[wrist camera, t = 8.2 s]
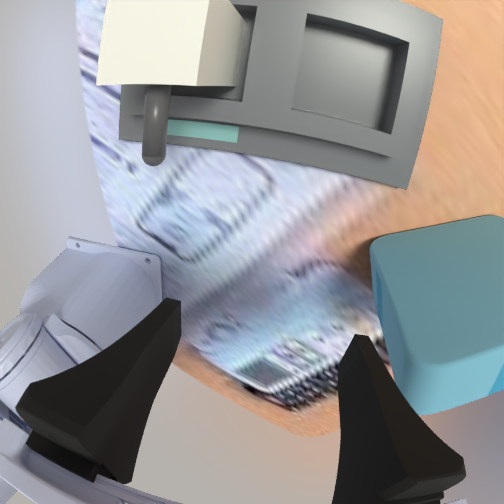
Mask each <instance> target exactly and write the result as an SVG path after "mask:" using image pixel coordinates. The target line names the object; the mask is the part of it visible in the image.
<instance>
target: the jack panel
mask: <svg viewBox="0 0 504 504" xmlns="http://www.w3.org/2000/svg"><path fill="white" fill-rule="evenodd" d="M229 1H230V2H231V3H232V5H233V6H234V7H235V9H236V10H237V11H238V13H239V14H240V15H241V17H242V18H243V19H244V21H245V22H246V24H247V25H246V31H245V37H244V43H243V49H242V56H241V62H240V68H239V75H238V82H237V86H189V85H171V94H170V104H169V115H168V127H167V141H166V144H176V145H185V146H194V147H202V148H210V149H217V150H224V151H231V152H238V153H244V154H250V155H256V156H262V157H268V158H273V159H279V160H284V161H289V162H295V163H300V164H304V165H309V166H314V167H319V168H323V169H328V170H332V171H336V172H341V173H345V174H349V175H353V176H357V177H361V178H365V179H369V180H373V181H377V182H380V183H384V184H388V185H391V186H395V187H398V188H402V189H405V190H407V187H408V184H409V180H410V177H411V174H412V170H413V167H414V164H415V160H416V157H417V153H418V149H419V146H420V142H421V138H422V134H423V130H424V126H425V122H426V118H427V113H428V109H429V104H430V100H431V95H432V90H433V85H434V79H435V74H436V68H437V62H438V56H439V49H440V41H441V33H442V24H443V19H442V18H439V17H437V16H435V15H433V14H431V13H429V12H426V11H424V10H422V9H419V8H417V7H415V6H412V5H410V4H407V3H405V2H402V1H399V0H229ZM145 94H146V84H122V87H121V101H120V120H119V140H130V141H143V122H144V107H145Z"/></svg>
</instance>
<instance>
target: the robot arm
mask: <svg viewBox="0 0 504 504" xmlns="http://www.w3.org/2000/svg"><path fill="white" fill-rule="evenodd" d="M78 243H79V244H78ZM66 247H67V248H66V250H64V251H63V252H62V253H61V254H60V255H59V256H58V257H57V258H56V259H55V260H54V261H53V262H52V263H50V264H49V265H48V266H47V267H46V268H45V269H44V270H43V271H42V272H41V273H40V275H38V277H36V278H35V279H34V281H32V283H31V284H30V285H29V287H28V288H27V290H26V292H25V294H24V297H23V300H22V303H21V308H20V315H18V316H17V317H16V318H14V319H13V320H12V321H11V322H9V323H8V324H7V325H6V326H5V327H4V328H3V329H2V330H1V331H0V504H5V503H6V502H7V501H8V500H9V499H10V498H11V497H12V496H13V495H14V494H15V493H16V492H17V490H18V491H19V492H21V493H22V494H23V495H25V496H26V497H27V498H29V499H30V500H32V501H33V502H35V503H36V504H125V503H128V504H181V503H178V502H174V501H171V500H167V499H164V498H161V497H157V496H154V495H151V494H148V493H145V492H142V491H139V490H137V489H134V488H131V487H128V486H125V485H123V484H127V483H129V482H131V481H132V477H133V472H134V467H135V463H136V459H137V455H138V451H139V447H140V443H141V439H142V436H143V432H144V429H145V426H146V422H147V419H148V416H149V413H150V410H151V407H152V404H153V402H154V399H155V397H156V394H157V392H158V390H159V388H160V386H161V384H162V381H163V379H164V377H165V375H166V373H167V371H168V369H169V366H170V364H171V362H172V360H173V358H174V356H175V353H176V350H177V347H178V344H179V341H180V337H181V301H178V300H174V299H170V298H165V299H164V300H163V301H162V281H161V260H160V258H159V257H158V256H157V255H154V254H149V253H144V252H139V251H134V250H130V249H125V248H120V247H115V246H111V245H106V244H101V243H96V242H92V241H88V240H83V239H78V238H74V237H68V238H67V239H66ZM147 258H148V259H150V261H148V260H147ZM338 397H339V412H340V428H341V441H340V454H339V464H338V473H337V479H336V485H335V491H334V496H333V500H332V504H440V500H441V499H443V498H444V493H443V491H444V490H447V489H449V488H450V487H452V486H454V485H456V484H458V483H459V482H461V481H462V480H463V479H464V478H465V477H466V471H465V465H464V460H463V457H462V456H460V455H459V454H458V453H456V452H455V451H454V450H453V449H451V448H450V447H449V446H448V445H447V444H445V443H444V442H443V441H442V440H441V439H440V438H439V437H438V436H437V435H436V434H435V433H434V432H433V431H432V430H431V429H430V428H429V427H428V426H427V425H426V424H425V423H424V421H423V420H422V419H421V418H420V417H419V416H418V414H417V413H416V412H415V411H414V409H413V408H412V407H411V405H410V404H409V403H408V401H407V400H406V399H405V397H404V396H403V394H402V393H401V391H400V390H399V388H398V387H397V385H396V383H395V382H394V380H393V379H392V377H391V375H390V373H389V372H388V370H387V368H386V367H385V365H384V363H383V361H382V359H381V358H380V356H379V354H378V352H377V350H376V349H375V347H374V345H373V343H372V341H371V340H370V338H369V336H365V335H358V334H355V335H354V337H353V339H352V341H351V343H350V345H349V347H348V349H347V350H346V352H345V354H344V356H343V358H342V360H341V361H340V363H339V369H338ZM113 480H114V481H113ZM118 482H119V483H118ZM121 483H122V484H121ZM124 502H125V503H124ZM445 504H467V500H466V498H463V499H459V500H455V501H452V502H448V503H445Z"/></svg>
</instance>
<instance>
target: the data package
mask: <svg viewBox="0 0 504 504" xmlns="http://www.w3.org/2000/svg"><path fill="white" fill-rule="evenodd" d="M369 251H370V262H371V275H372V290H373V299H374V303H375V306H376V309H377V313H378V316H379V320H380V324H381V327H382V331H383V335H384V339H385V342H386V346H387V350H388V354H389V358H390V362H391V367H392V371H393V375H394V380H395V383H396V385H397V387H398V388H399V390H400V391H401V393H402V394H403V396H404V397H405V399H406V400H407V401H408V403H409V404H410V405H411V407H412V408H413V409H414V411H415V412H416V413H417V414H418V415H429V414H434V413H437V412H441V411H444V410H447V409H451V408H454V407H457V406H460V405H463V404H466V403H469V402H472V401H475V400H477V399H480V398H482V397H485V396H488V395H490V394H493V393H495V392H498V391H500V390H503V389H504V218H502V217H499V216H494V215H486V216H480V217H475V218H470V219H465V220H460V221H455V222H450V223H445V224H440V225H435V226H430V227H425V228H419V229H414V230H409V231H404V232H399V233H394V234H388V235H384V236H381V237H379V238H377V239H376V240H374V241H373V242H372V244H371V246H370V249H369Z"/></svg>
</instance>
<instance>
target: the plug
mask: <svg viewBox="0 0 504 504" xmlns="http://www.w3.org/2000/svg"><path fill="white" fill-rule="evenodd" d="M246 25H247V24H246V22H245V21H244V19H243V18H242V17H241V15H240V14H239V13H238V11H237V10H236V9H235V7H234V6H233V5H232V3H231V2H230V1H229V0H108V1H107V6H106V11H105V17H104V23H103V29H102V36H101V44H100V52H99V61H98V71H97V83H96V85H118V84H146V94H145V107H144V122H143V141H142V158H143V161H144V162H145V163H146V164H147V165H149V166H157V165H159V164H161V163H162V162H163V161H164V159H165V156H166V141H167V127H168V115H169V104H170V94H171V85H189V86H237V82H238V75H239V68H240V62H241V56H242V49H243V43H244V37H245V31H246Z"/></svg>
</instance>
